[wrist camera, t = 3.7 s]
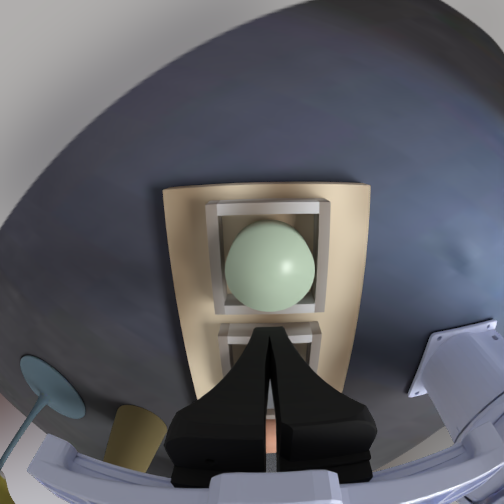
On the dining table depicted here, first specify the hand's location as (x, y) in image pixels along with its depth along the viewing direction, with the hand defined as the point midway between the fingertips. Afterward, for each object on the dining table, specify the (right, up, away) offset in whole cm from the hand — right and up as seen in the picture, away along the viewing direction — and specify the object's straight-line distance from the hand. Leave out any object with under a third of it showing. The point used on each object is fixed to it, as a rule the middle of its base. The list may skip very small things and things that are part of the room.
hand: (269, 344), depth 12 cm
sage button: (0, +4, +3) cm, 5 cm away
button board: (+1, -3, +8) cm, 8 cm away
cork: (-13, -15, +12) cm, 23 cm away
